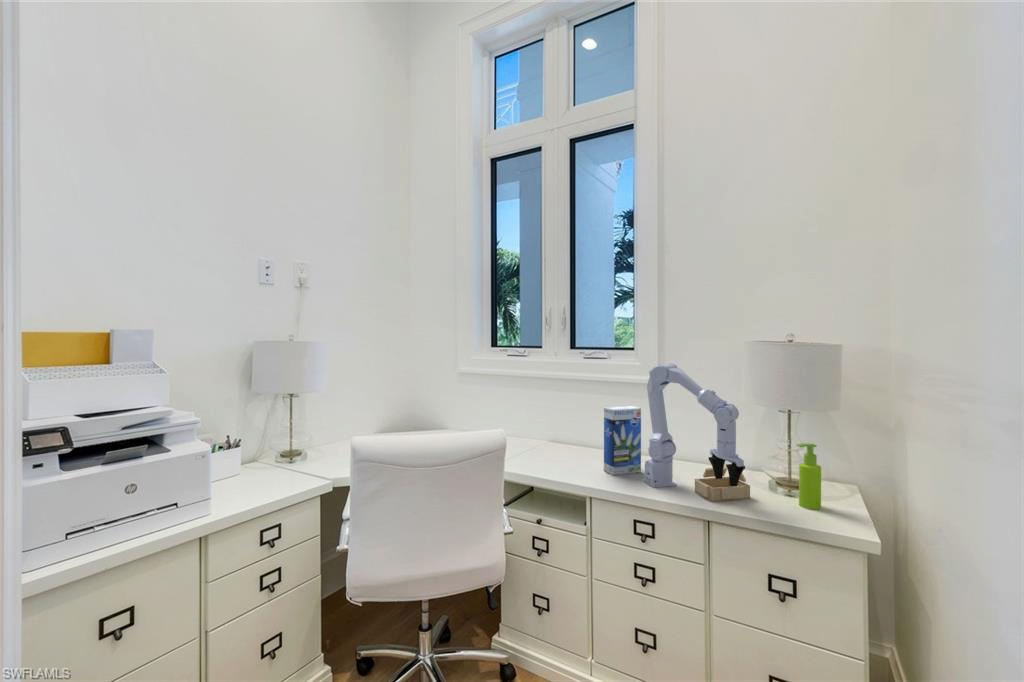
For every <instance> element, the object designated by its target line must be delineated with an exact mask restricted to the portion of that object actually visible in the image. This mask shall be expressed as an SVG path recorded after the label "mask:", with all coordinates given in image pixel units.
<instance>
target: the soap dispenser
mask: <svg viewBox="0 0 1024 682" xmlns="http://www.w3.org/2000/svg"><path fill="white" fill-rule="evenodd" d="M796 447H799V448H805V447H806V452H805V453H803V462H802V463H799V464H798V465H799V466H798V467H799V468H798V469H799V470H798V471H799V473H798V478H799V479H798V486H799V487H798V505H799V506H800V507H801V508H803V509H807V510H812V511H814V510H815V511H818V510H821V509H822V466H820V465H819V464H817V458H818V457H817V455H816V454H815V453H814V448H817V445H816V444H814V443H810V442H809V443H808V442H805V443H803V442H802V443H797V444H796Z"/></svg>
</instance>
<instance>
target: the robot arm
mask: <svg viewBox="0 0 1024 682" xmlns="http://www.w3.org/2000/svg"><path fill="white" fill-rule="evenodd" d="M670 383H673V384H679V385H680V386H681V387H683V388H684V389H686V390H687V391H688V392H689V393H691V394H692V395H694V396H695V397H696V399H697V403H699V404H700V405H701V406H702V407H703V408H705V410H707V412H710V413H711V414H712V415H713V418H714V419H715V422H716V449H715V448H711V449H710V450H709V457H708V461H709V462H710V465H711V468H713V470H714V474H715V477H714V478H716V479H722V477H724V476H723V468H724V467H726V468H727V472H728V477H729V481H730V486H737V485H738V481H740V480H739V478H740V475H741V473H742V474H743V472H744V470H745V469H746V466H745V464H744V463H745V460H744V459H742V458H740V456H739V453H737V449H736V448H737V421H736V420H738V418H739V415H740V412H739V409H738V408H737V407H736V406H735V404H732V403H728V401H727V400H723V399H722V398H721V397H720V396H718V395H717V394H716V393H717V392H716V391H715V390H711V389H704V388H703V387H701V386H700V385H699V384H698V383H697V382H696V381H695V380H694V379H692V378H691V377H690V376H689V375H688V374H686V373H685V372H684V370H683V369H682V368H680V367H678V366H677V364H674V363H668V364H667V363H666V364H657V365H654V366H653V367H652V368H651V369H650V370H649V377H648V380H647V384H646V390H647V397H648V406H649V412H650V420H651V421H650V422H651V427H652V428H651V429H652V434H651V436H650V438H649V440H648V442H649V446H648V449H647V450H648V454H649V457H650V458H651V459H649V460H646V461H645V462H644V479H643V481H644V482H645V483H646V484H648V485H649V486H651V487H652V486H653V488H663V487H664V488H665V487H675V486H676V487H677V486H678V483H676V482H675V481H673V475H674V473H673V472H674V471H673V467H674V466H673V463H674V462H673V461H674V460H673V458H674V457H673V456H674V455H675V454H676V452H677V446H676V444H675V443H674V440H673V436H672V435H671V434H670V433H669V431H668V430H669V429H668V422H667V413H666V407H665V398H664V392H663V391H664V390H665V388H666V387H667V386H668V384H670ZM725 462H728V463H729V464H725Z"/></svg>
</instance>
